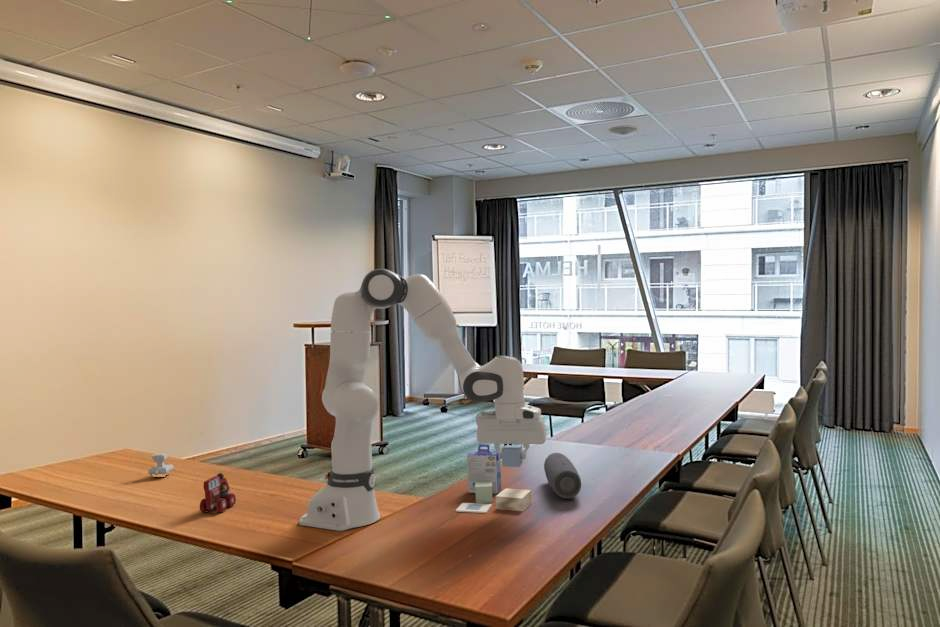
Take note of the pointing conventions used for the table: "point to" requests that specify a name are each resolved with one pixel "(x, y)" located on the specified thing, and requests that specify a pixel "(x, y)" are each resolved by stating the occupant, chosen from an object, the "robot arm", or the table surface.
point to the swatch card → (474, 507)
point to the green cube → (483, 492)
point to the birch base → (513, 499)
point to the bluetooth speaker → (562, 475)
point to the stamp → (160, 465)
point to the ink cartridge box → (483, 468)
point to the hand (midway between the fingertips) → (512, 458)
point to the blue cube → (511, 456)
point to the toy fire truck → (217, 494)
